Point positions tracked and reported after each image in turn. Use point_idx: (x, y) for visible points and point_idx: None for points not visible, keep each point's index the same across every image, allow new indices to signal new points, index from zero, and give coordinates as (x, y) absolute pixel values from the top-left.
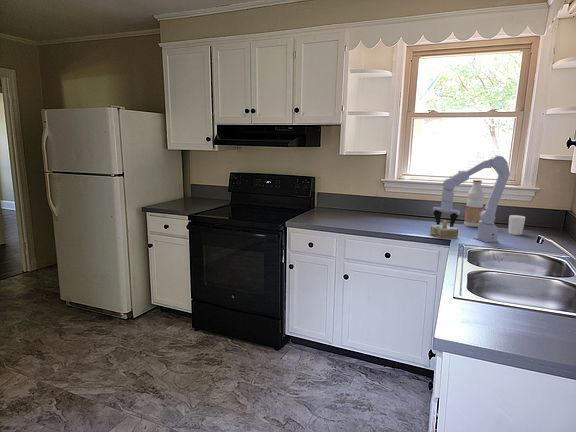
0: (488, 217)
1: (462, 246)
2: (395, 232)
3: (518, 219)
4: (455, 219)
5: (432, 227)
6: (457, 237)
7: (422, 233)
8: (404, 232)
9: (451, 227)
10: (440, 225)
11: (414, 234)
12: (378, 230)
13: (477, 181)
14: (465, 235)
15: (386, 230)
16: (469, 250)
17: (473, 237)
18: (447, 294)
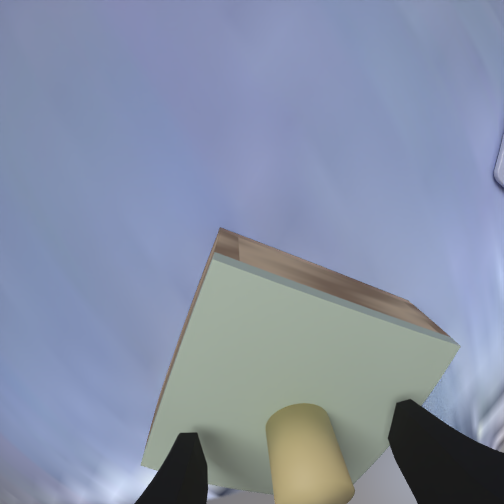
0: None
1: (473, 439)
2: (57, 491)
3: None
4: (488, 462)
5: None
6: (408, 302)
7: (117, 427)
8: (63, 470)
9: (372, 362)
10: (189, 389)
11: (127, 478)
12: (14, 492)
13: None
14: (411, 122)
15: (13, 478)
16: (497, 447)
17: (498, 181)
18: None
